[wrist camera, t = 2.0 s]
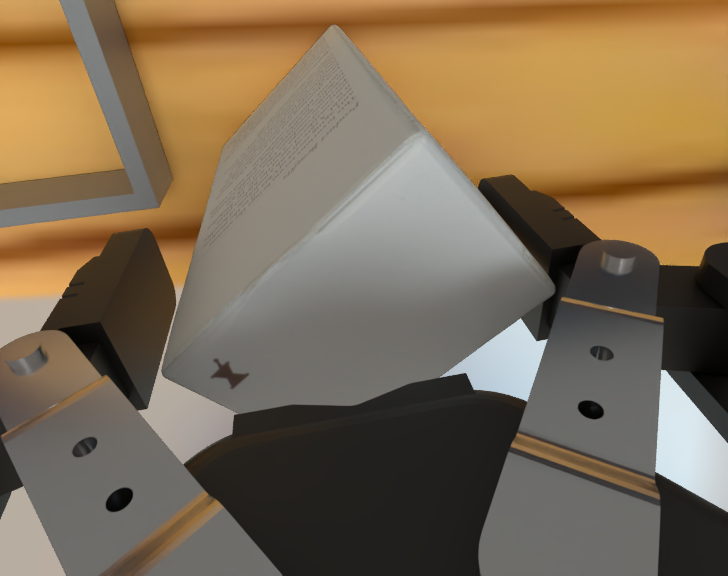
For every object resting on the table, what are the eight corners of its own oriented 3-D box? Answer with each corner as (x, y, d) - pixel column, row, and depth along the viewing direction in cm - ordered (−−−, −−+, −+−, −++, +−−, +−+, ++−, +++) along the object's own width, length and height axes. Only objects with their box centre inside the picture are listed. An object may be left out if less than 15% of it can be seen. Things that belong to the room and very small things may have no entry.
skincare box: (305, 215, 20) (325, 468, 10) (221, 144, 18) (143, 379, 8) (415, 109, 18) (569, 296, 8) (336, 15, 16) (416, 118, 6)
